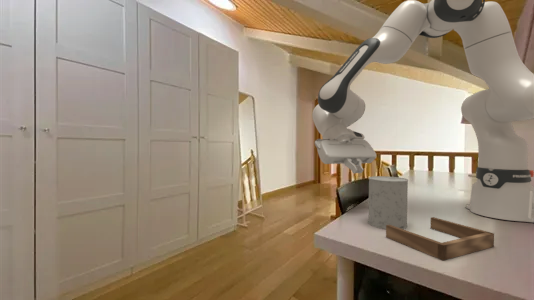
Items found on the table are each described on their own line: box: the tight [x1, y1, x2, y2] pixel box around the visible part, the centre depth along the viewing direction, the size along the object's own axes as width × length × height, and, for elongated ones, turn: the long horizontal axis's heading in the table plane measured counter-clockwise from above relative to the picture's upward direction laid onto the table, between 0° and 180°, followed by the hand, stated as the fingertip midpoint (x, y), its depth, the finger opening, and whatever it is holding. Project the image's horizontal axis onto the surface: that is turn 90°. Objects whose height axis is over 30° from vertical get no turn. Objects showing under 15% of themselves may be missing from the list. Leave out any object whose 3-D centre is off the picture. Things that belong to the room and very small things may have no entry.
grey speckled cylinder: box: [367, 175, 409, 230], centre depth 70 cm, size 10×10×12 cm
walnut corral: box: [385, 216, 495, 261], centre depth 57 cm, size 16×13×3 cm
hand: (358, 172), depth 79 cm, fingers closed
